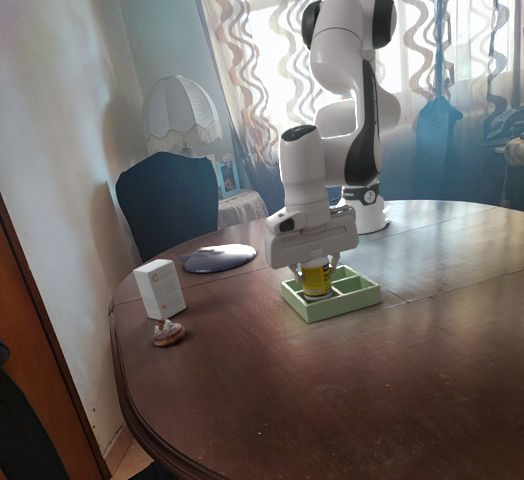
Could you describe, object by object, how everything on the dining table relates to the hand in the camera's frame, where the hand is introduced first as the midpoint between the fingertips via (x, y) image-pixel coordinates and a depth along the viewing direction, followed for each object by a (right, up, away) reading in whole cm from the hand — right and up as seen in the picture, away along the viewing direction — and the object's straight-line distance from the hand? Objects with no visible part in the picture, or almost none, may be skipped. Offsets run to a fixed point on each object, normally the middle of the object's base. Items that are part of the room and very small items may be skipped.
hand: (316, 277), depth 101 cm
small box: (-36, -6, +18) cm, 41 cm away
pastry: (-33, -14, +4) cm, 36 cm away
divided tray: (+4, -4, +8) cm, 10 cm away
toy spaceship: (-27, +14, +52) cm, 60 cm away
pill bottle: (+1, -4, +2) cm, 5 cm away
